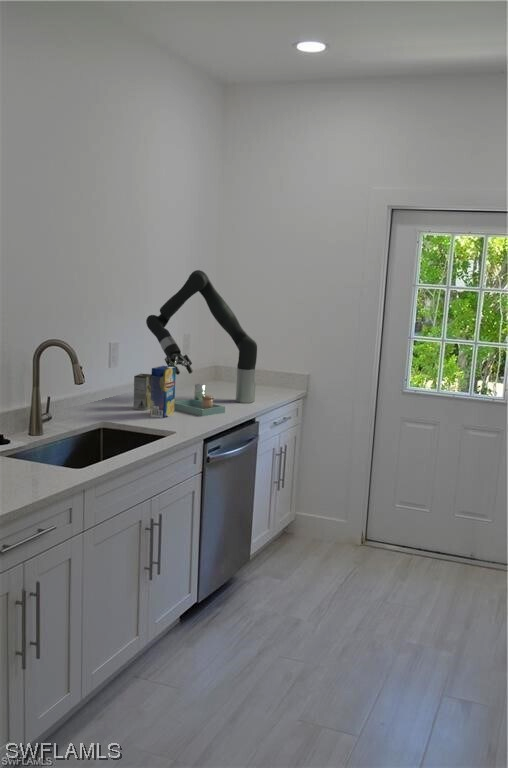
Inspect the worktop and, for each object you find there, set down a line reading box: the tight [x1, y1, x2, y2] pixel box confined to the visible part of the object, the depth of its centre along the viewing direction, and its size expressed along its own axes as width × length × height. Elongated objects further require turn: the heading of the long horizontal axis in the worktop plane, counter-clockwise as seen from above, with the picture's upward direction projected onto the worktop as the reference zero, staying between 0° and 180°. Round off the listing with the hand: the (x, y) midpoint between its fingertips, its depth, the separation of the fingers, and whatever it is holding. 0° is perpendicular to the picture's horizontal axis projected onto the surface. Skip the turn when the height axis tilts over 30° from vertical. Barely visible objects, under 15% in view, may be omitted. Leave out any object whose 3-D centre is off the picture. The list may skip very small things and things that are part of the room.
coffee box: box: [132, 373, 152, 411], centre depth 354 cm, size 9×6×16 cm
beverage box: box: [149, 365, 177, 419], centre depth 341 cm, size 7×11×22 cm, turn 161°
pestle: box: [202, 394, 214, 409], centre depth 349 cm, size 5×5×8 cm
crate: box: [174, 398, 226, 417], centre depth 353 cm, size 15×22×4 cm
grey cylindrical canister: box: [193, 383, 207, 401], centre depth 366 cm, size 5×5×11 cm
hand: (185, 373), depth 372 cm, fingers open, 8 cm apart
